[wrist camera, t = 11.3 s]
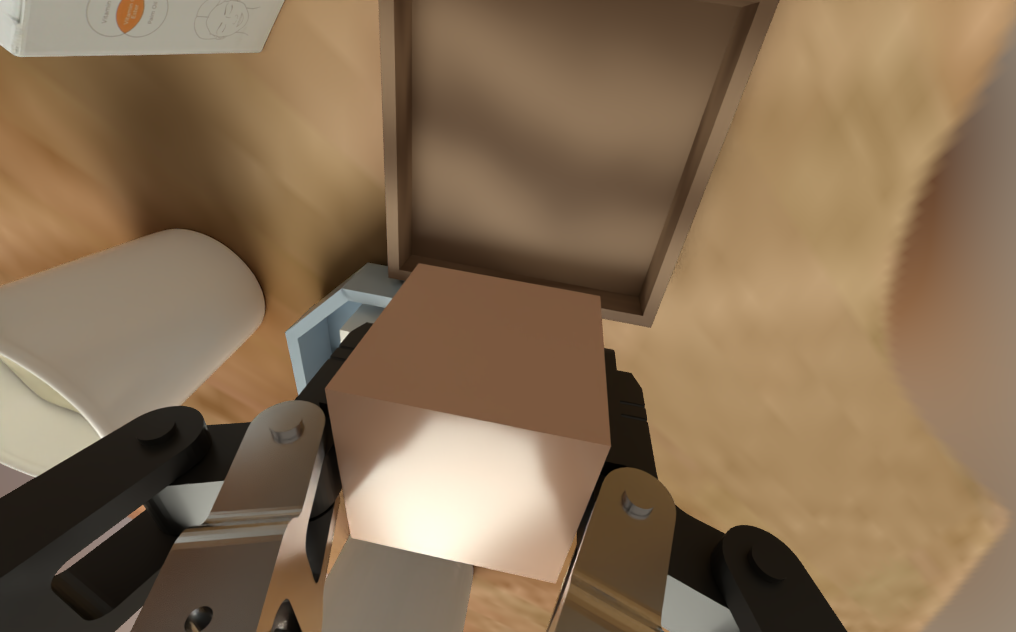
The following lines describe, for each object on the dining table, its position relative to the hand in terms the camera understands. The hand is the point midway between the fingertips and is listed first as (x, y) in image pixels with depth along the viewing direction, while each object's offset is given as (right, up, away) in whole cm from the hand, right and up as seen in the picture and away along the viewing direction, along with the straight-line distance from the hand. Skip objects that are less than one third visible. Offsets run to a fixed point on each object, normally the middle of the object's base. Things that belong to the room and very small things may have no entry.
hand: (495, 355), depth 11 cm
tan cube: (0, 0, 0) cm, 0 cm away
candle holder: (-20, +3, +17) cm, 27 cm away
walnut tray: (+2, +9, +9) cm, 13 cm away
